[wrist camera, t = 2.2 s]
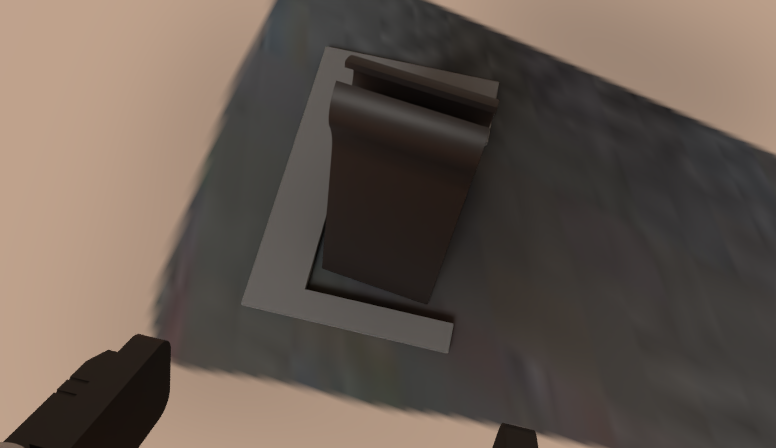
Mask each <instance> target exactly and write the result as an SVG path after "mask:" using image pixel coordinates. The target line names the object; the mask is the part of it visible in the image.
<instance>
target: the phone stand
mask: <svg viewBox="0 0 776 448" xmlns="http://www.w3.org/2000/svg"><path fill="white" fill-rule="evenodd" d="M345 68H349V69H352V70H353V81H352V85H349V84H346V83H343V82H340V81H337V80H336V83H335V86H334V89H333V93H332V97H331V102H330V108H329V126H330V129H331V134H332V153H331V165H330V178H329V190H328V202H327V214H326V227H325V239H324V251H323V264H322V268H323V269H326V270H329V271H331V272H334V273H337V274H340V275H343V276H346V277H349V278H352V279H355V280H357V281H360V282H363V283H366V284H369V285H372V286H375V287H378V288H381V289H384V290H386V291H389V292H392V293H395V294H398V295H401V296H404V297H407V298H410V299H412V300H415V301H418V302H421V303H424V304H428V301H429V298H430V295H431V293H432V290H433V287H434V284H435V282H436V279H437V276H438V273H439V270H440V268H441V265H442V262H443V259H444V257H445V254H446V251H447V248H448V245H449V243H450V240H451V237H452V234H453V231H454V229H455V226H456V223H457V220H458V218H459V215H460V212H461V209H462V206H463V204H464V201H465V198H466V195H467V192H468V190H469V187H470V184H471V182H472V179H473V176H474V174H475V172H476V169H477V166H478V164H479V161H480V158H481V155H482V152H483V149H484V146H485V144H486V141H487V138H488V135H489V132H490V129H491V128H489V127H490V124H491V121H492V119H493V116H494V114H495V113H496V110H497V107H498V104H499V100H498V99H495V98H492V97H488V96H485V95H482V94H479V93H475V92H472V91H469V90H465V89H462V88H459V87H456V86H452V85H449V84H446V83H443V82H439V81H436V80H433V79H430V78H426V77H423V76H420V75H416V74H413V73H410V72H407V71H403V70H400V69H397V68H394V67H390V66H387V65H384V64H381V63H377V62H374V61H371V60H367V59H364V58H361V57H358V56H354V55H350V56H349V57H348V58H347V59H346V60H345Z"/></svg>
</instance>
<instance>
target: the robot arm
mask: <svg viewBox="0 0 776 448" xmlns="http://www.w3.org/2000/svg"><path fill="white" fill-rule="evenodd" d="M170 361H171V346H170V343H169V341H166V340H161V339H157V338H153V337H149V336H145V335H141V334H137V335H135V336H133V337H132V338H131V339H130V340H129V341H128V342H127V343H126V344H125V345H124V346H123V348H121V349H120V350H119V351H118V352H115V351H111V350H107V351H105V352H103V353H101V354H99V355H97V356H95V357H93V358H91V359H90V360H88V361H86V362H85V363H84V364H83V365H82V366H81V367H80V368H79V369H78V370H77V371H76V372H75V373H74V374H73V375H72V376H71V377H70V379H69V380H66V382H64V383H63V384H62V385H61V386H60V387H59V388H58V389H57V392H56V393H53V394H52V395H51V396H50V397H49V398H48V399H47V400H46V401H45V402H44V403H43V404H42V405H41V406H40V407H39V408H38V409H37V410H36V411H35V412H34V413H33V414H32V415H30V416H29V417H28V418H27V420H25V421H24V422H23V423H22V424H21V425H20V426H19V427H18V428H17V429H16V430H15V431H14V432H13V433H12V434H11V435H10V436H9V437H8V438H7V439H6V440H5V441H4V442H0V448H139V446H140V445H141V443H142V442H143V441H144V439H145V438H146V437H147V435H148V434H149V432H150V431H151V430H152V428H153V427H154V425H155V424H156V423H157V421H158V420H159V418H160V417H161V415H162V414H163V411H164V410H165V407H166V405H167V401H168V398H169V393H170ZM493 448H538V443H537V436H536V433H535V431H534V430H530V429H526V428H522V427H518V426H514V425H509V424H505V423H502V424H501V426H500V428H499V430H498V433H497V436H496V439H495V442H494V445H493Z"/></svg>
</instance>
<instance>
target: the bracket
mask: <svg viewBox="0 0 776 448" xmlns="http://www.w3.org/2000/svg"><path fill="white" fill-rule="evenodd" d="M350 55H354V56H358V57H361V58H364V59H367V60H371V61H374V62H377V63H381V64H384V65H387V66H390V67H394V68H397V69H400V70H403V71H407V72H410V73H413V74H416V75H420V76H423V77H426V78H430V79H433V80H436V81H439V82H443V83H446V84H449V85H452V86H456V87H459V88H462V89H465V90H469V91H472V92H475V93H479V94H482V95H485V96H488V97H492V98H495V99H496V96H497V91H498V86H499V82H496V81H491V80H487V79H482V78H477V77H472V76H467V75H462V74H458V73H453V72H448V71H443V70H438V69H433V68H429V67H424V66H419V65H414V64H409V63H404V62H400V61H395V60H390V59H385V58H380V57H375V56H371V55H366V54H361V53H356V52H351V51H346V50H342V49H337V48H332V47H327V46H326V48H325V51H324V54H323V57H322V60H321V63H320V66H319V69H318V72H317V75H316V78H315V81H314V84H313V87H312V90H311V93H310V96H309V99H308V102H307V105H306V108H305V111H304V114H303V117H302V120H301V123H300V127H299V130H298V133H297V136H296V139H295V142H294V145H293V148H292V151H291V154H290V157H289V160H288V163H287V166H286V169H285V172H284V175H283V178H282V181H281V184H280V187H279V190H278V193H277V196H276V199H275V202H274V205H273V208H272V211H271V214H270V217H269V220H268V224H267V227H266V230H265V233H264V236H263V239H262V242H261V245H260V248H259V251H258V254H257V257H256V260H255V263H254V266H253V269H252V272H251V275H250V278H249V281H248V284H247V287H246V290H245V293H244V296H243V299H242V302H241V304H242V305H243V306H247V307H251V308H255V309H260V310H264V311H268V312H272V313H277V314H281V315H285V316H289V317H294V318H298V319H302V320H306V321H311V322H315V323H319V324H323V325H327V326H332V327H336V328H340V329H344V330H349V331H353V332H357V333H361V334H366V335H370V336H374V337H378V338H383V339H387V340H391V341H395V342H400V343H404V344H408V345H412V346H417V347H421V348H425V349H429V350H433V351H438V352H442V353H446V354H447V353H448V352H449V346H450V341H451V336H452V330H453V325H454V324H453V323H448V322H444V321H440V320H436V319H431V318H427V317H423V316H418V315H414V314H410V313H405V312H401V311H397V310H393V309H388V308H384V307H380V306H375V305H371V304H367V303H362V302H358V301H354V300H350V299H345V298H341V297H337V296H332V295H328V294H324V293H319V292H315V291H311V290H307V286H308V282H309V279H310V275H311V272H312V268H313V265H314V261H315V258H316V255H317V251H318V248H319V244H320V241H321V237H322V234H323V230H324V227H325V224H326V214H327V202H328V190H329V178H330V165H331V153H332V134H331V129H330V126H329V108H330V102H331V97H332V93H333V89H334V86H335V83H336V80H337V81H340V82H343V83H346V84H349V85H352V81H353V70H352V69H349V68H345V60H346V59H347V58H348V57H349V56H350ZM491 123H492V121H491ZM489 128H491V124H490V127H489ZM489 134H490V132H489ZM488 139H489V135H488V138H487V141H486V144H485V146H487V143H488Z"/></svg>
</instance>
